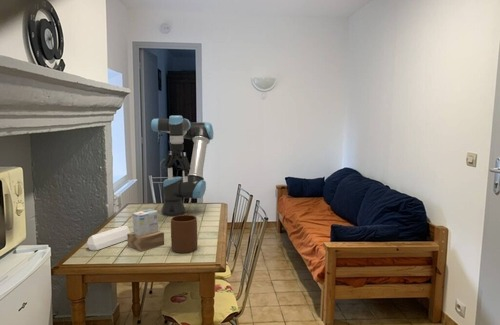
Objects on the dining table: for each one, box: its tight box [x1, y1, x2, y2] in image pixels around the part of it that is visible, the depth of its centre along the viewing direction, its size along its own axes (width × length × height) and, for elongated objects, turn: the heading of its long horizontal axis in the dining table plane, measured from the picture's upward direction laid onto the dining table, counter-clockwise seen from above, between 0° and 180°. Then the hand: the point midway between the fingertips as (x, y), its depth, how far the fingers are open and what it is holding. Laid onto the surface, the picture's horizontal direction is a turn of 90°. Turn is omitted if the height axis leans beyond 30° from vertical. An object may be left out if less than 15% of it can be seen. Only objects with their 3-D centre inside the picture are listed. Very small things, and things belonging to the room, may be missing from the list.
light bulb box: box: [132, 208, 159, 236], centre depth 188 cm, size 11×7×11 cm, turn 136°
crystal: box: [86, 225, 131, 252], centre depth 192 cm, size 7×7×24 cm
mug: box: [170, 212, 198, 254], centre depth 187 cm, size 20×12×15 cm, turn 3°
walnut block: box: [127, 230, 165, 252], centre depth 189 cm, size 12×13×6 cm
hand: (177, 180), depth 217 cm, fingers open, 13 cm apart
